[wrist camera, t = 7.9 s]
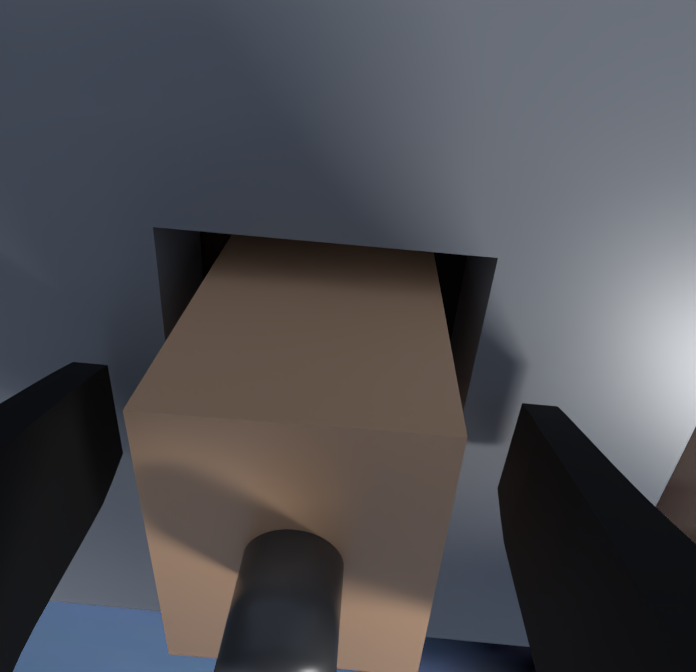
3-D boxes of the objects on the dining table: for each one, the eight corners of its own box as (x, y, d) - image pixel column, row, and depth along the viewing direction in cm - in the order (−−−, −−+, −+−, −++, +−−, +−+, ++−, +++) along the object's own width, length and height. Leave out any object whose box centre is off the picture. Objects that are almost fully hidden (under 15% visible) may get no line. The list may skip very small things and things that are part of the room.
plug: (431, 240, 12) (488, 554, 5) (405, 429, 14) (422, 796, 8) (236, 226, 12) (54, 519, 5) (245, 417, 14) (131, 769, 8)
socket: (784, 4, 9) (903, 9, 7) (557, 566, 17) (582, 652, 14) (-77, -69, 9) (-212, -86, 7) (73, 520, 17) (27, 598, 15)
